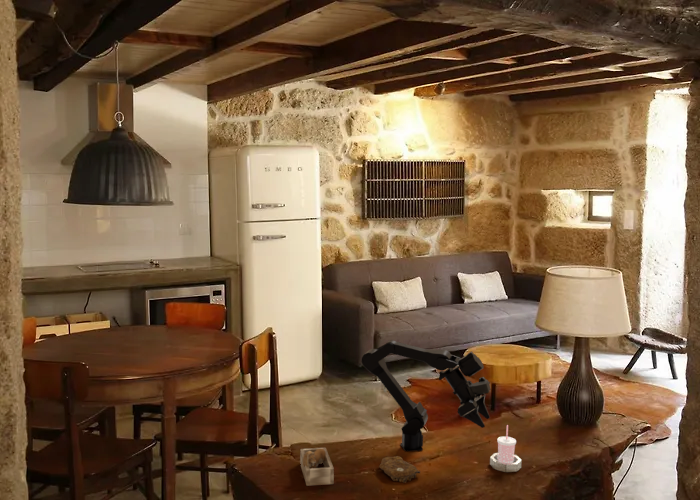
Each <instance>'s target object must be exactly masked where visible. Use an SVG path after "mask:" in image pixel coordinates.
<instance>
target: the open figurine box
mask: <svg viewBox="0 0 700 500" xmlns="http://www.w3.org/2000/svg"><path fill="white" fill-rule="evenodd" d="M317 449H324V450H325V452H326V455H325V462H324V463H323V460H322V459H320V460H319V464H320V465H321V464H322V463H323V464H322V465H323V467H317V468H311V469H310V468H309V466H306V465H305V467H304V465H303V455H304V453H305V452H307V451H311V452H315V451H316V450H317ZM299 451H300V453H299V454H300V457H299V461H300V462H299V463H300V464H301V465H300V468H301V471H302V475H303V478H304V482H305V485H306V486H307V487H308V486H309V487H310V486H321V485H322V486H323V485H334V482H335V481H334V478H335V475H334V474H335V471H334V470H335V468H334V466H333V463H332V460H331V458H330V455H329V453H328V450H327V448H326V447H315V448H314V447H313V448H311V447H310V448H300V450H299ZM319 464H318V465H319Z"/></svg>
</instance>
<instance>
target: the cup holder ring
mask: <svg viewBox="0 0 700 500" xmlns="http://www.w3.org/2000/svg"><path fill="white" fill-rule="evenodd" d="M489 457H490V458H489V465H490V466H491V467H492V469H494V470H497V471H500V472H504V473H512V472H513V473H514V472H516V473H517V472H518V471H519V470H520V469H522V461H523V460H522V459H521V458H520V457H519V456H518V455H517V454H514V459H513V463H502V462H499V461H498V452H493V454H492V455H491V456H489Z"/></svg>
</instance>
